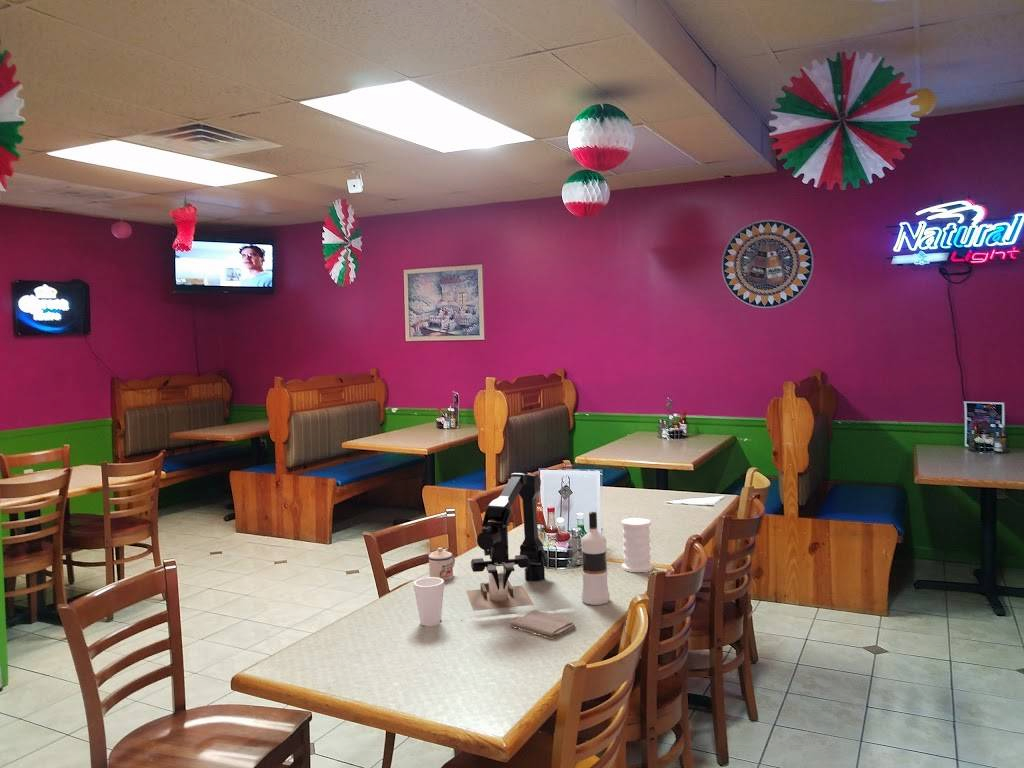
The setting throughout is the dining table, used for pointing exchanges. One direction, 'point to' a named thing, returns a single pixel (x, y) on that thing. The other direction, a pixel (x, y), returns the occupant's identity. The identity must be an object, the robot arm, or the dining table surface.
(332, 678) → the dining table surface
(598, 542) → the vodka
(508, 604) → the dock
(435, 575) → the teacup with lid
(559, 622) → the washcloth
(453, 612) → the dining table surface
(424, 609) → the foam cup
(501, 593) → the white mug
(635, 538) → the decorative container
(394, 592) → the dining table surface
